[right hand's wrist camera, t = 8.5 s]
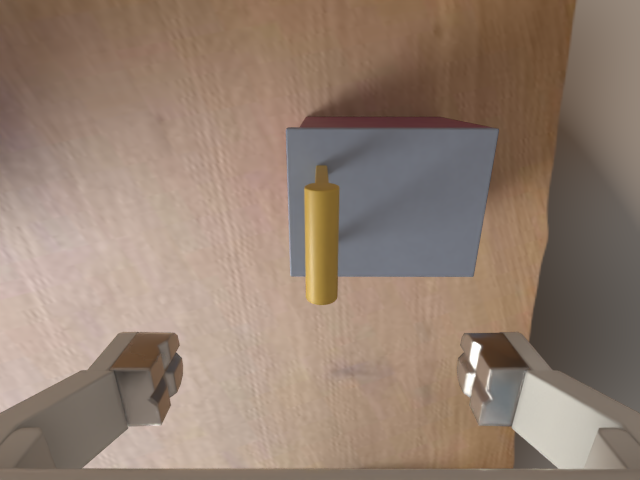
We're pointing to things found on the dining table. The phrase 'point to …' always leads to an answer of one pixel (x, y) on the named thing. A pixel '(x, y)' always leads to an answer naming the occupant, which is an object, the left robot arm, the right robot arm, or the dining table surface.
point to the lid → (385, 202)
